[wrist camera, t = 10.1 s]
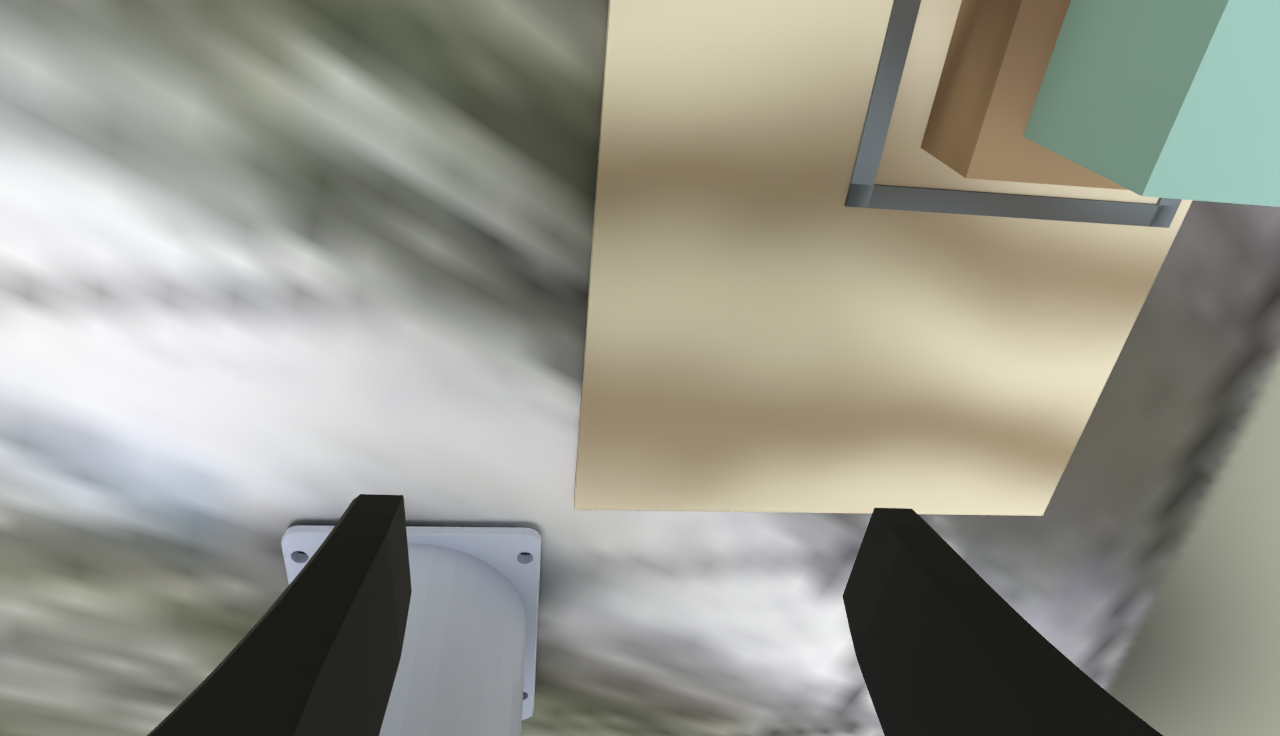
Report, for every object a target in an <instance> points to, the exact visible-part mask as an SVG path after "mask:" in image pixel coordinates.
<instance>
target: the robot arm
mask: <svg viewBox="0 0 1280 736" xmlns="http://www.w3.org/2000/svg"><path fill="white" fill-rule="evenodd" d="M281 546H282V551H283V557H284V562H285V567H286V573H287V578H288V584H289V586H288V587H287V588H286V590H285V591H284V592H283V593H282V594H281V596H280V597H279V598H278V599H277V600H276V602H275V603H274V604H273V605H272V607H271V608H270V609H269V610H268V611H267V612H266V614H265V615H264V616H263V617H262V618H261V619H260V620H259V622H258V623H257V624H256V625H255V626H254V627H253V628H252V629H251V630H250V631H249V633H248V634H247V635H246V636H245V637H244V638H243V639H242V640H241V641H240V642H239V644H238V645H237V646H236V647H235V648H234V649H233V650H232V651H231V652H230V653H229V655H228V656H227V657H226V658H225V659H224V660H223V661H222V662H221V663H220V664H219V665H218V667H217V668H216V669H215V670H214V671H213V672H212V673H211V674H210V675H209V676H208V677H207V678H206V679H205V680H204V681H203V682H202V683H201V684H200V685H199V686H198V687H197V688H196V689H195V690H194V691H193V692H192V693H191V694H190V695H189V696H188V697H187V698H186V699H185V700H184V701H183V702H182V703H181V704H180V705H179V706H178V707H177V708H176V709H175V710H174V711H173V712H172V713H170V714H169V715H168V716H167V717H166V718H165V719H164V720H163V721H162V722H161V723H160V724H159V725H158V726H157V727H156V728H155V729H154V730H153V731H152V732H150V733H149V734H148V735H147V736H521V726H522V720H525V719H528V718H530V717H531V716H532V715H533V712H534V696H535V673H536V649H537V626H538V603H539V580H540V557H541V536H540V534H539V533H538V532H537V531H536V530H534V529H532V528H519V527H414V526H406V521H405V509H404V498H403V495H365V494H360V495H359V496H358V497H356V498H355V499H354V500H353V501H352V502H351V504H350V505H349V507H348V508H347V510H346V511H345V513H344V514H343V516H342V517H341V518H340V520H339V521H338V522H337V524H336V525H335V526H309V525H298V526H292V527H290V528H288V529H287V530H286V531H285V533H284V535H283V537H282V540H281ZM297 551H302V552H305V553H306V554H300V553H298V552H297ZM523 552H528V553H530V554H529V555H521V554H520V553H523ZM843 600H844V604H845V609H846V614H847V618H848V623H849V628H850V632H851V636H852V640H853V644H854V648H855V653H856V657H857V660H858V663H859V666H860V669H861V671H862V674H863V677H864V680H865V683H866V685H867V688H868V691H869V694H870V696H871V699H872V702H873V705H874V707H875V710H876V713H877V716H878V718H879V721H880V724H881V726H882V729H883V732H884V734H885V736H1163V735H1161V734H1160V733H1159V732H1157V731H1156V730H1155V729H1153V728H1152V727H1151V726H1149V725H1148V724H1147V723H1146V722H1144V721H1143V720H1142V719H1140V718H1139V717H1138V716H1137V715H1135V714H1134V713H1133V712H1132V711H1130V710H1129V709H1128V708H1127V707H1125V706H1124V705H1123V704H1121V703H1120V702H1119V701H1118V700H1116V699H1115V698H1114V697H1112V696H1111V695H1110V694H1109V693H1108V692H1106V691H1105V690H1104V689H1103V688H1101V687H1100V686H1099V685H1098V684H1097V683H1095V682H1094V681H1093V680H1092V679H1091V678H1089V677H1088V676H1087V675H1086V674H1085V673H1084V672H1082V671H1081V670H1080V669H1079V668H1078V667H1077V666H1076V665H1074V664H1073V663H1072V662H1071V661H1070V660H1069V659H1068V658H1066V657H1065V656H1064V655H1063V654H1062V653H1061V652H1060V651H1059V650H1057V649H1056V648H1055V647H1054V646H1053V645H1052V644H1051V643H1049V642H1048V641H1047V640H1046V639H1045V638H1044V637H1043V636H1042V635H1041V634H1040V633H1038V632H1037V631H1036V630H1035V629H1034V628H1033V627H1032V626H1031V625H1030V624H1029V623H1028V622H1027V621H1026V620H1024V619H1023V618H1022V617H1021V616H1020V615H1019V614H1018V613H1017V612H1016V611H1015V610H1014V609H1013V608H1012V607H1011V606H1010V605H1009V604H1008V603H1007V602H1006V601H1005V600H1004V599H1003V598H1001V597H1000V596H999V595H998V594H997V593H996V592H995V591H994V590H993V589H992V588H991V587H990V586H989V585H988V584H987V583H986V582H985V581H984V580H983V579H982V578H981V577H980V576H979V575H978V574H977V573H976V572H975V571H974V570H973V569H972V568H971V567H970V566H969V565H968V564H967V563H966V562H965V561H964V560H963V559H962V558H961V557H960V556H959V555H958V554H957V553H956V552H955V551H954V550H953V549H952V548H951V547H950V546H949V545H948V544H947V543H946V542H945V541H944V540H943V539H942V538H941V537H940V536H939V535H938V534H937V533H936V532H935V531H934V530H933V529H932V528H931V527H930V526H929V525H928V524H927V523H926V522H925V521H924V520H923V519H922V518H921V517H920V516H919V515H918V514H917V513H916V512H915V511H914V510H913V509H907V508H874V510H873V513H872V516H871V519H870V522H869V524H868V527H867V530H866V533H865V535H864V538H863V541H862V544H861V547H860V549H859V552H858V555H857V558H856V560H855V563H854V566H853V569H852V572H851V574H850V577H849V580H848V583H847V585H846V588H845V591H844V594H843Z"/></svg>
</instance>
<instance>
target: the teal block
mask: <svg viewBox="0 0 1280 736" xmlns="http://www.w3.org/2000/svg"><path fill="white" fill-rule="evenodd" d="M1023 137H1025V138H1027V139H1029V140H1031V141H1033V142H1035V143H1037V144H1039V145H1041V146H1043V147H1045V148H1047V149H1049V150H1051V151H1053V152H1055V153H1057V154H1059V155H1061V156H1063V157H1065V158H1067V159H1069V160H1071V161H1073V162H1075V163H1077V164H1079V165H1081V166H1083V167H1085V168H1087V169H1089V170H1091V171H1092V172H1094V173H1096V174H1098V175H1100V176H1102V177H1104V178H1106V179H1108V180H1110V181H1112V182H1114V183H1116V184H1118V185H1120V186H1122V187H1124V188H1126V189H1128V190H1130V191H1132V192H1134V193H1136V194H1138V195H1140V196H1145V197H1158V198H1171V199H1184V200H1197V201H1211V202H1224V203H1237V204H1250V205H1263V206H1276V207H1280V0H1071V1H1070V4H1069V7H1068V10H1067V12H1066V15H1065V18H1064V21H1063V24H1062V27H1061V30H1060V32H1059V35H1058V38H1057V41H1056V44H1055V47H1054V50H1053V52H1052V55H1051V58H1050V61H1049V64H1048V67H1047V70H1046V72H1045V75H1044V78H1043V81H1042V84H1041V87H1040V90H1039V92H1038V95H1037V98H1036V101H1035V104H1034V107H1033V110H1032V112H1031V115H1030V118H1029V121H1028V124H1027V127H1026V130H1025V132H1024V135H1023Z"/></svg>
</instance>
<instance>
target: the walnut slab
mask: <svg viewBox="0 0 1280 736" xmlns="http://www.w3.org/2000/svg"><path fill="white" fill-rule="evenodd" d="M1070 1H1071V0H962V2H961V5H960V9H959V13H958V16H957V20H956V23H955V27H954V30H953V34H952V37H951V41H950V45H949V48H948V52H947V55H946V59H945V62H944V66H943V69H942V73H941V77H940V80H939V84H938V87H937V91H936V94H935V98H934V102H933V105H932V109H931V112H930V116H929V119H928V123H927V126H926V130H925V134H924V137H923V141H922V144H921V148H922V149H923V150H925V151H926V152H927V153H929V154H930V155H932V156H933V157H935V158H936V159H938V160H939V161H941V162H942V163H944V164H945V165H947V166H948V167H950V168H951V169H953V170H954V171H956V172H957V173H959V174H960V175H962V176H963V177H964V178H969V179H983V180H997V181H1011V182H1024V183H1038V184H1052V185H1066V186H1080V187H1093V188H1107V189H1121V190H1128V189H1126V188H1124V187H1122V186H1120V185H1118V184H1116V183H1114V182H1112V181H1110V180H1108V179H1106V178H1104V177H1102V176H1100V175H1098V174H1096V173H1094V172H1092V171H1091V170H1089V169H1087V168H1085V167H1083V166H1081V165H1079V164H1077V163H1075V162H1073V161H1071V160H1069V159H1067V158H1065V157H1063V156H1061V155H1059V154H1057V153H1055V152H1053V151H1051V150H1049V149H1047V148H1045V147H1043V146H1041V145H1039V144H1037V143H1035V142H1033V141H1031V140H1029V139H1027V138H1025V137H1023V135H1024V132H1025V130H1026V127H1027V124H1028V121H1029V118H1030V115H1031V112H1032V110H1033V107H1034V104H1035V101H1036V98H1037V95H1038V92H1039V90H1040V87H1041V84H1042V81H1043V78H1044V75H1045V72H1046V70H1047V67H1048V64H1049V61H1050V58H1051V55H1052V52H1053V50H1054V47H1055V44H1056V41H1057V38H1058V35H1059V32H1060V30H1061V27H1062V24H1063V21H1064V18H1065V15H1066V12H1067V10H1068V7H1069V4H1070Z"/></svg>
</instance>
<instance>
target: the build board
mask: <svg viewBox="0 0 1280 736" xmlns="http://www.w3.org/2000/svg"><path fill="white" fill-rule="evenodd" d="M961 2H962V0H609V6H608V21H607V35H606V49H605V64H604V78H603V92H602V107H601V121H600V135H599V150H598V164H597V179H596V193H595V207H594V222H593V236H592V250H591V265H590V279H589V293H588V308H587V322H586V336H585V351H584V365H583V379H582V394H581V408H580V422H579V437H578V451H577V465H576V480H575V494H574V510H638V511H718V512H797V513H873V510H874V508H907V509H913V510H914V511H915V512H916V513H917V514H956V515H1036V516H1043V513H1044V511H1045V509H1046V507H1047V505H1048V503H1049V501H1050V499H1051V497H1052V495H1053V492H1054V490H1055V488H1056V486H1057V484H1058V482H1059V480H1060V478H1061V476H1062V474H1063V471H1064V469H1065V467H1066V465H1067V463H1068V461H1069V459H1070V457H1071V455H1072V453H1073V450H1074V448H1075V446H1076V444H1077V442H1078V440H1079V438H1080V436H1081V434H1082V432H1083V429H1084V427H1085V425H1086V423H1087V421H1088V419H1089V417H1090V415H1091V413H1092V411H1093V408H1094V406H1095V404H1096V402H1097V400H1098V398H1099V396H1100V394H1101V392H1102V390H1103V387H1104V385H1105V383H1106V381H1107V379H1108V377H1109V375H1110V373H1111V371H1112V369H1113V366H1114V364H1115V362H1116V360H1117V358H1118V356H1119V354H1120V352H1121V350H1122V347H1123V345H1124V343H1125V341H1126V339H1127V337H1128V335H1129V333H1130V331H1131V329H1132V326H1133V324H1134V322H1135V320H1136V318H1137V316H1138V314H1139V312H1140V310H1141V308H1142V305H1143V303H1144V301H1145V299H1146V297H1147V295H1148V293H1149V291H1150V289H1151V287H1152V284H1153V282H1154V280H1155V278H1156V276H1157V274H1158V272H1159V270H1160V268H1161V266H1162V263H1163V261H1164V259H1165V257H1166V255H1167V253H1168V251H1169V249H1170V247H1171V245H1172V242H1173V240H1174V238H1175V236H1176V234H1177V232H1178V230H1179V228H1180V226H1181V224H1182V221H1183V219H1184V217H1185V215H1186V213H1187V211H1188V209H1189V207H1190V205H1191V203H1192V200H1184V199H1171V198H1158V197H1145V196H1140V195H1138V194H1136V193H1134V192H1132V191H1130V190H1121V189H1107V188H1093V187H1080V186H1066V185H1052V184H1038V183H1024V182H1011V181H997V180H983V179H969V178H964V177H963V176H962V175H960V174H959V173H957V172H956V171H954V170H953V169H951V168H950V167H948V166H947V165H945V164H944V163H942V162H941V161H939V160H938V159H936V158H935V157H933V156H932V155H930V154H929V153H927V152H926V151H925V150H923V149H922V148H921V144H922V141H923V137H924V134H925V130H926V126H927V123H928V119H929V116H930V112H931V109H932V105H933V102H934V98H935V94H936V91H937V87H938V84H939V80H940V77H941V73H942V69H943V66H944V62H945V59H946V55H947V52H948V48H949V45H950V41H951V37H952V34H953V30H954V27H955V23H956V20H957V16H958V13H959V9H960V5H961Z"/></svg>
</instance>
